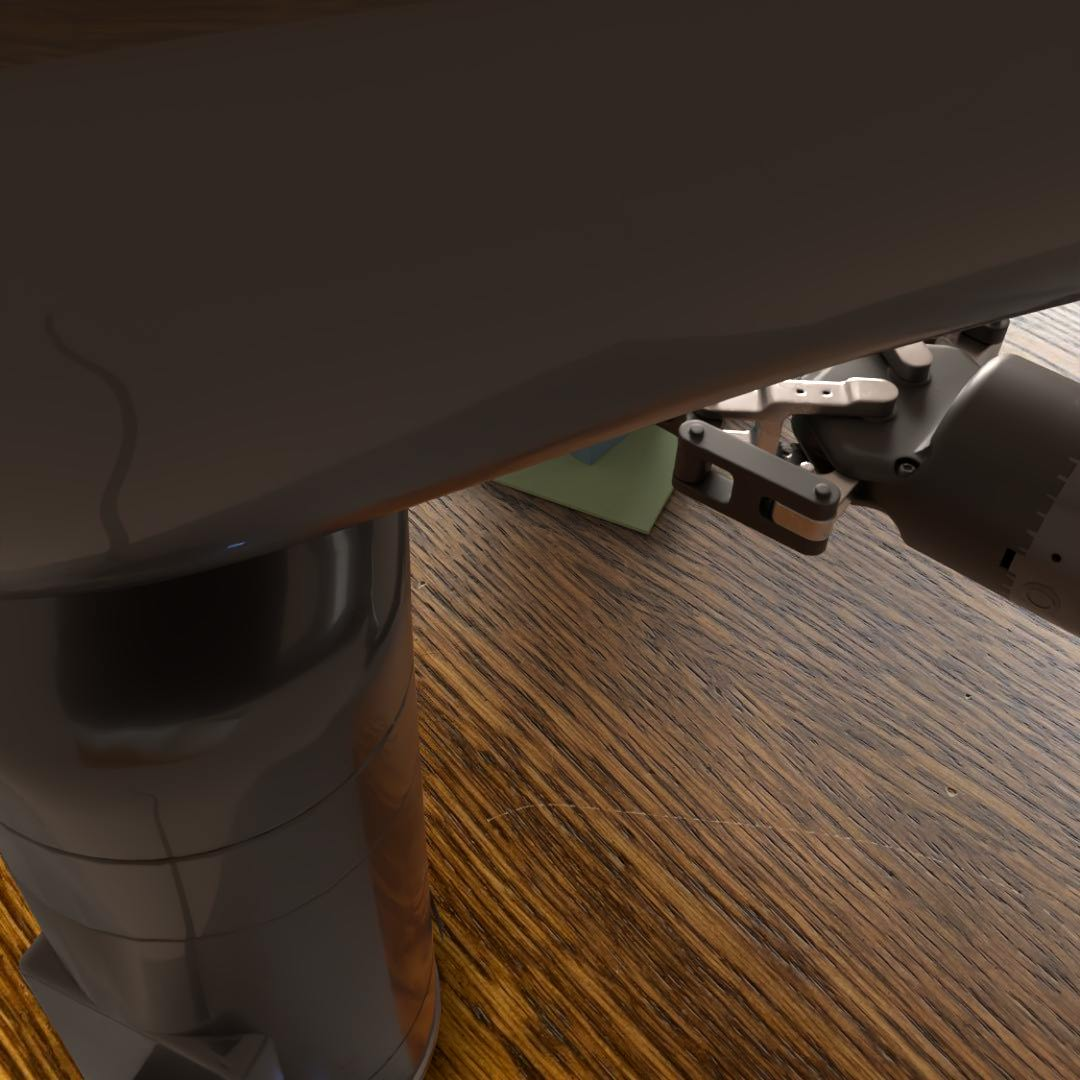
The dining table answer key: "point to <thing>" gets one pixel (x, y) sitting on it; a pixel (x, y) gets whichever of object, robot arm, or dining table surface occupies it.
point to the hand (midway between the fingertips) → (682, 314)
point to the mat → (609, 480)
